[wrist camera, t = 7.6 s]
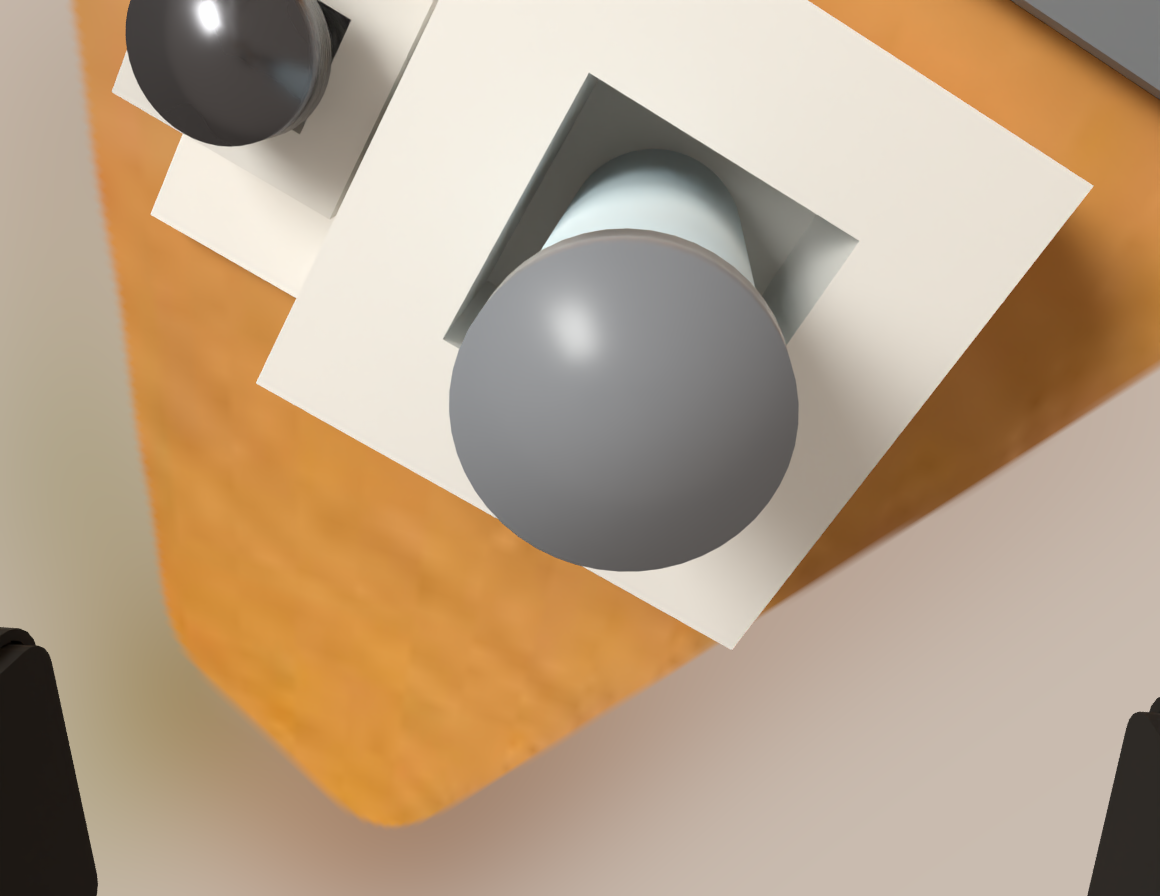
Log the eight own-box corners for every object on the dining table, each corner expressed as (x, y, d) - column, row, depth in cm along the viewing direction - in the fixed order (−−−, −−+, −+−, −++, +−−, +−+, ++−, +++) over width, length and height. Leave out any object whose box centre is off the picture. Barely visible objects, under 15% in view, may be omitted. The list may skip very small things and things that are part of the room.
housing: (150, 199, 32) (15, 248, 26) (342, -282, 27) (232, -374, 20) (724, 530, 34) (731, 649, 28) (1005, 146, 29) (1093, 185, 23)
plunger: (222, 69, 29) (99, 84, 23) (279, -73, 27) (164, -96, 21) (352, 146, 29) (265, 181, 23) (415, 11, 28) (340, 11, 22)
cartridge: (519, 272, 31) (391, 467, 18) (618, 97, 29) (555, 172, 16) (683, 369, 31) (676, 626, 18) (791, 205, 29) (871, 364, 16)
